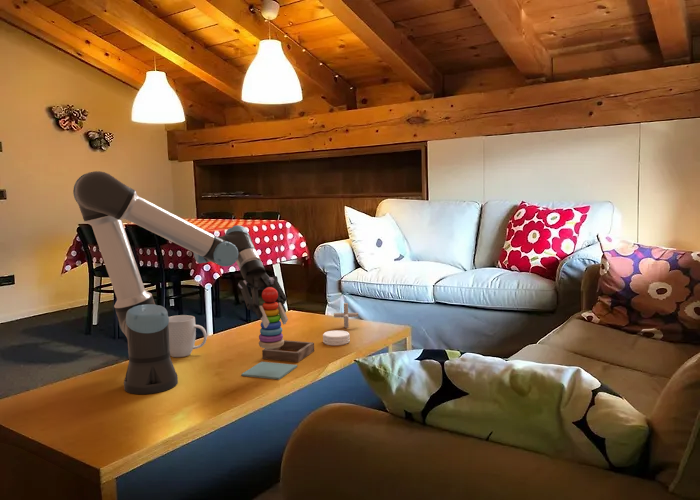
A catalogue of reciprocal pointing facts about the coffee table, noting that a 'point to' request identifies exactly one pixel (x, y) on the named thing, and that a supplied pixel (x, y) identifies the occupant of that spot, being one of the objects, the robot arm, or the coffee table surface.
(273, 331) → the stacking toy
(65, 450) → the coffee table surface
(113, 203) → the robot arm
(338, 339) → the white coaster stack
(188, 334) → the mug
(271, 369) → the mat
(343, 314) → the pipe connector
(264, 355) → the tray
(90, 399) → the coffee table surface
